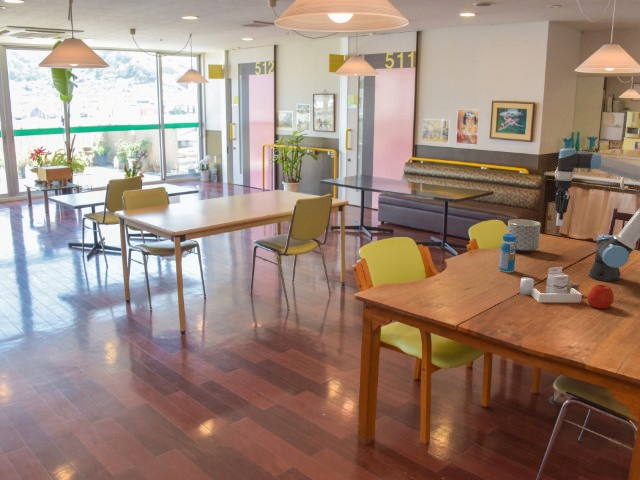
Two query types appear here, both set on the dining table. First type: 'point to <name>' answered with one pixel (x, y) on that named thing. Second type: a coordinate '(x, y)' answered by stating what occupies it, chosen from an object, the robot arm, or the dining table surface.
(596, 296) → the apple
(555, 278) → the ink box
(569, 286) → the grey-brown cube
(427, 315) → the dining table surface
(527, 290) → the glossy white capsule
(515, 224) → the planter
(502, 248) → the beverage bottle
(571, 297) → the display bracket
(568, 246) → the dining table surface
